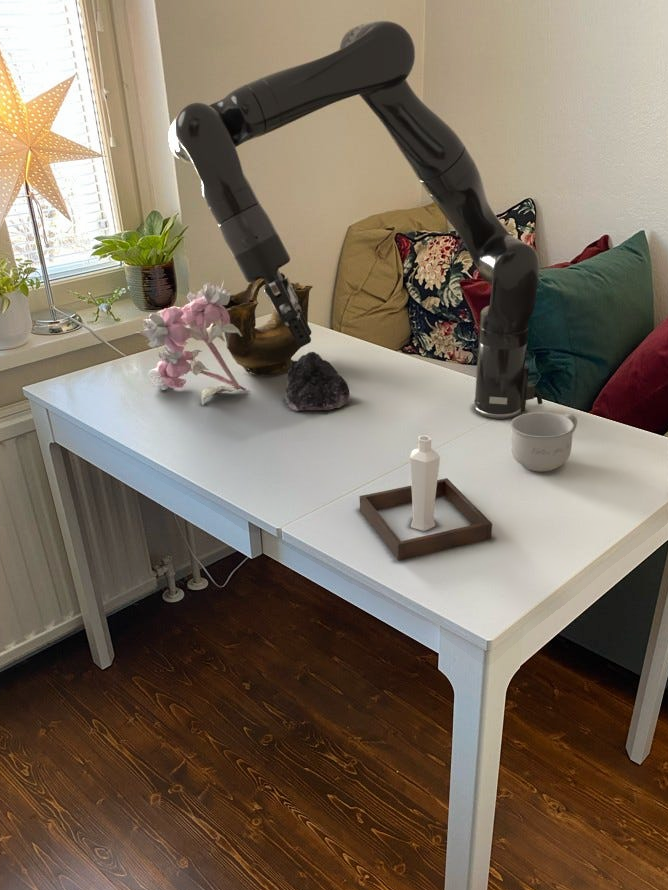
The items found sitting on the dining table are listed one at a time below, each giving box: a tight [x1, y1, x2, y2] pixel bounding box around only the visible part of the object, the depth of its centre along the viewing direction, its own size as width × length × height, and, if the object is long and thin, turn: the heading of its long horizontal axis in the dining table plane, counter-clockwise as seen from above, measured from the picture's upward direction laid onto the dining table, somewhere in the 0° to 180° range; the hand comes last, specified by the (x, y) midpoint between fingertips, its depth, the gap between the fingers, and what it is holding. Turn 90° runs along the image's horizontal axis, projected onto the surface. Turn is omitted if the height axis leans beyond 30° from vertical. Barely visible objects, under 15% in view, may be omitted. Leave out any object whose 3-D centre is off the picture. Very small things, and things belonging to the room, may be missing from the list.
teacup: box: [510, 411, 578, 473], centre depth 154 cm, size 14×11×8 cm
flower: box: [136, 278, 247, 406], centre depth 177 cm, size 20×22×25 cm
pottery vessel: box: [220, 278, 314, 377], centre depth 188 cm, size 25×11×20 cm, turn 138°
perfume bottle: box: [409, 434, 441, 532], centre depth 134 cm, size 5×4×15 cm
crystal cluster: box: [284, 351, 351, 412], centre depth 176 cm, size 13×14×10 cm
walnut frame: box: [359, 477, 493, 561], centre depth 137 cm, size 16×16×3 cm
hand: (306, 340), depth 137 cm, fingers open, 8 cm apart
